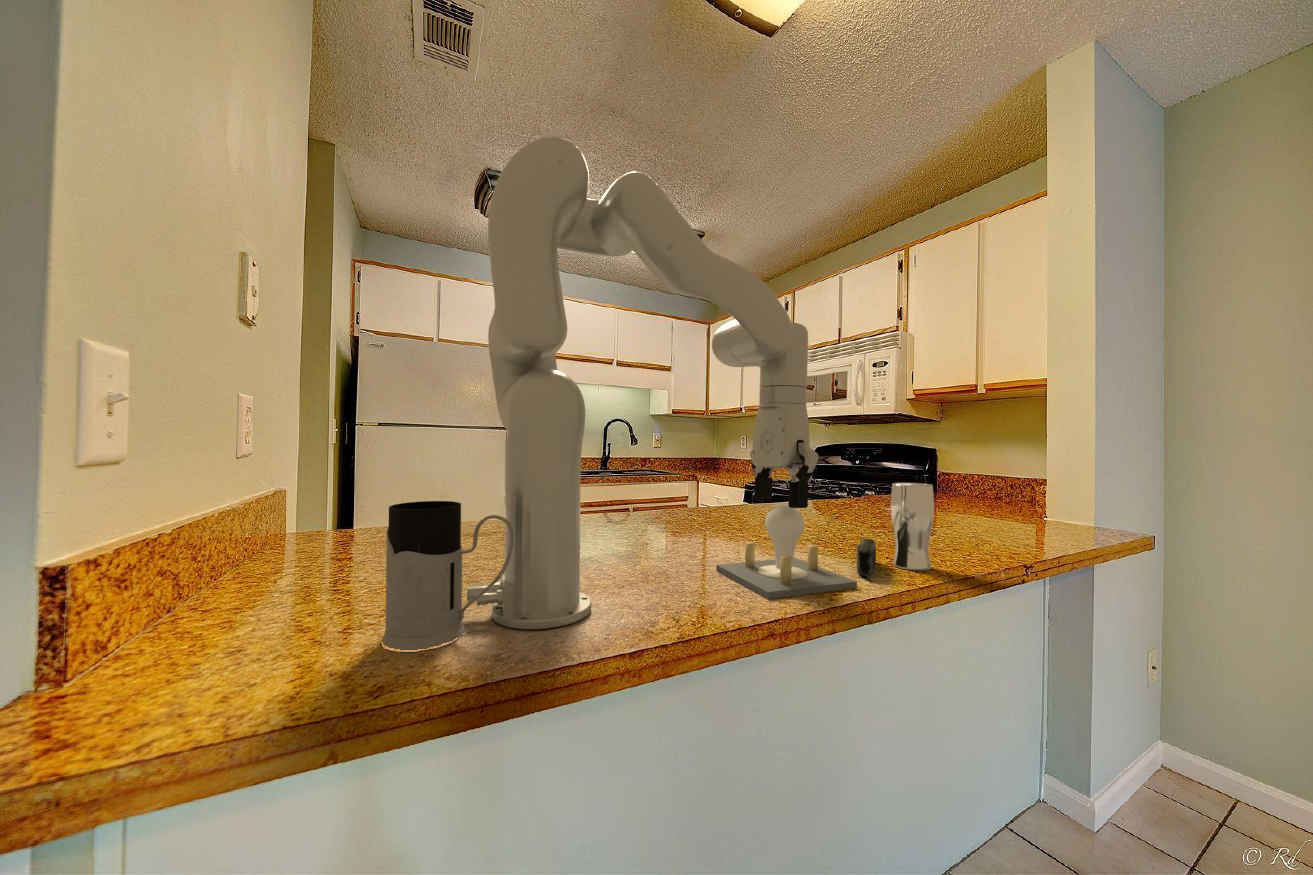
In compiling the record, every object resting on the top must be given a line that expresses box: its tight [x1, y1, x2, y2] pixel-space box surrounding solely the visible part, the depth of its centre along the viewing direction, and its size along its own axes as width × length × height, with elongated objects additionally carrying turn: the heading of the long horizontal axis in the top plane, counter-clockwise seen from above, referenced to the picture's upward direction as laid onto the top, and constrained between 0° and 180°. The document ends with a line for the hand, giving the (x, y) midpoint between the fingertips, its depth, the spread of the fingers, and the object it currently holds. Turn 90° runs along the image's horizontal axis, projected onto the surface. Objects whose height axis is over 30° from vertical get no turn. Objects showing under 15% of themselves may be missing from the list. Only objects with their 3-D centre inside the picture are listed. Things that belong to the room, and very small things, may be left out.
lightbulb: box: [764, 504, 805, 571], centre depth 79 cm, size 6×6×11 cm
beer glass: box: [890, 482, 935, 572], centre depth 87 cm, size 7×7×15 cm
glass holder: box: [381, 500, 514, 650], centre depth 55 cm, size 9×14×15 cm, turn 95°
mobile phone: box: [856, 538, 877, 582], centre depth 85 cm, size 5×3×15 cm
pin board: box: [715, 541, 858, 600], centre depth 79 cm, size 16×16×5 cm
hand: (779, 503), depth 79 cm, fingers open, 9 cm apart
